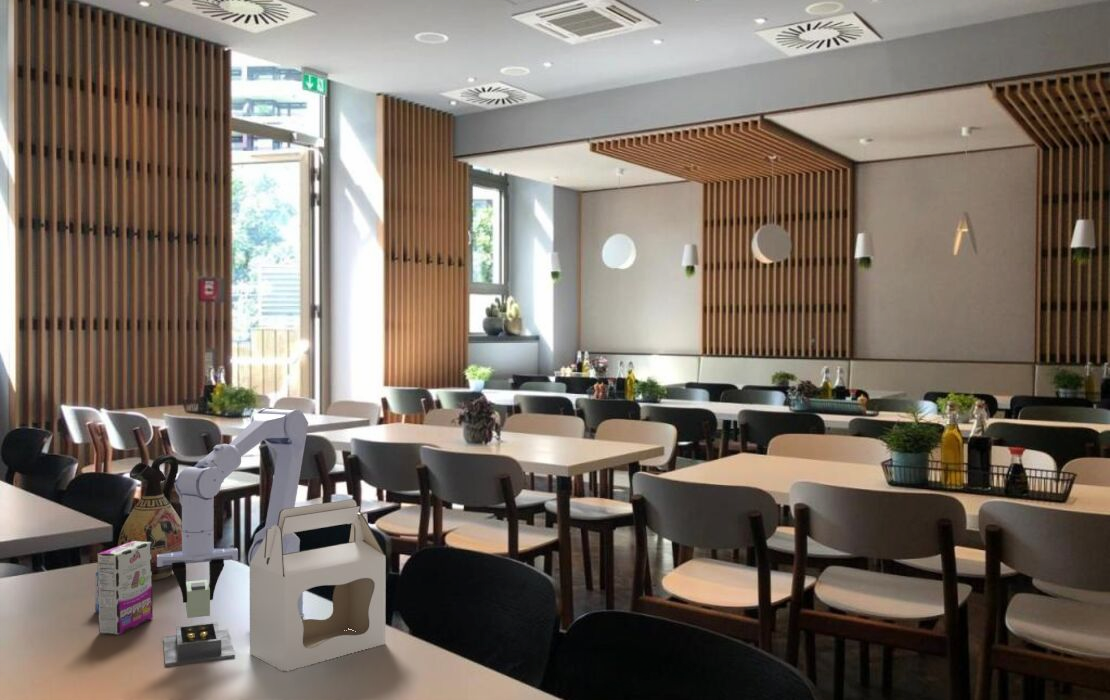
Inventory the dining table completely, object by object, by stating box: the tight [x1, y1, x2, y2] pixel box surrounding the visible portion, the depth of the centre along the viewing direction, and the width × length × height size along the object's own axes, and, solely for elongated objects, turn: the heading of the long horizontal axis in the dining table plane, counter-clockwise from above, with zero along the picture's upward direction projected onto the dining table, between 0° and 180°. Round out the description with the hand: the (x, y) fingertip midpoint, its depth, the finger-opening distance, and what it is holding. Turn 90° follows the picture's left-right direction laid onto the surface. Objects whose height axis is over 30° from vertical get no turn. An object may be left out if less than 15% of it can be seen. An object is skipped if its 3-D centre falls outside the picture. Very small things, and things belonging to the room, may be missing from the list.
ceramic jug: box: [117, 454, 182, 581], centre depth 231 cm, size 17×15×30 cm
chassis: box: [163, 621, 236, 668], centre depth 179 cm, size 12×16×3 cm
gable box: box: [249, 499, 387, 673], centre depth 179 cm, size 22×13×28 cm, turn 135°
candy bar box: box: [96, 541, 154, 636], centre depth 192 cm, size 11×5×16 cm, turn 168°
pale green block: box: [185, 579, 211, 619], centre depth 181 cm, size 4×8×6 cm, turn 23°
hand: (197, 599), depth 180 cm, fingers closed on pale green block, 4 cm apart
